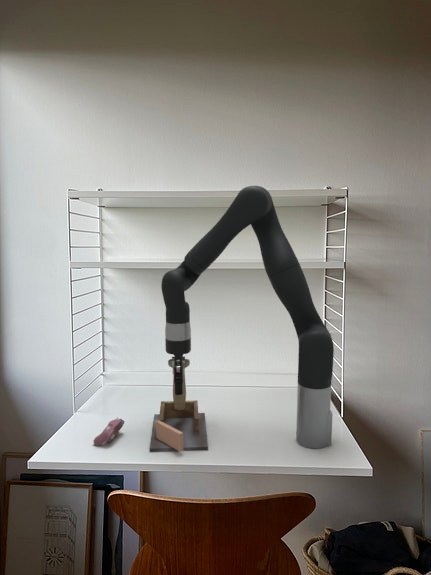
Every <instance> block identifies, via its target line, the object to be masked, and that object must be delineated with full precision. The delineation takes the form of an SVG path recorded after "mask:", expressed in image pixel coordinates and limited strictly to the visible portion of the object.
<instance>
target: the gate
mask: <svg viewBox="0 0 431 575" xmlns="http://www.w3.org/2000/svg"><path fill="white" fill-rule="evenodd" d="M153 421H154V438H157V439H159V440H160V441H162V442H164V443H166V444H167V445H169V446H171V447H173V448H174V449H176V450H178V451H177V452H183V451H182V450H183V432H181V431H179V430H177V429H175V428H173V427H171V426H169V425H167V424H165V423H163V422H161V421H160V420H159V419H155V420H154V419H153Z"/></svg>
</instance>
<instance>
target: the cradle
mask: <svg viewBox="0 0 431 575" xmlns="http://www.w3.org/2000/svg"><path fill="white" fill-rule="evenodd" d="M198 404H199V403H198V400H186V401H185V408H184V409H183V410H177V409H175V408H174V405H175V404H174V401H173V400H170V401H169V400H167V401H165V400H163V401H160V409H159V413H158V414H157V413H156V414H154V416H153V420H152V421H153V422H152V427H151V435H150V436H151V437H150V443H149V453H159V452H161V453H163V452H165V453H166V452H179V451H178V450H176V449H174V448H173V447H171V446H169V445H167V444H166V443H164V442H162V441H160V440H159V439H157V438H154V420H155V419H159V420H160V421H161V422H163V423H165V424H167V425H169V426H171V427H173V428H175V429H177V430H179V431H181V432H183V450H182V451H181V452H186V451H188V452H191V451H193V452H194V451H209V444H208V443H209V442H208V441H209V440H208V431H207V424H206V422H207V421H206V413H205V412H199V405H198Z"/></svg>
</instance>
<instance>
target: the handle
mask: <svg viewBox="0 0 431 575" xmlns="http://www.w3.org/2000/svg"><path fill="white" fill-rule="evenodd" d="M190 364H191V362H190V359H188V358H185V363H182V367H184V375H183V383H182V388H183V394H182V395H176V394H175V383H174V375H173V374H172V375H173V377H172V379H173V380H172V401H174V404H175V405H174V408H175V409H177V410H183V409H184V408H185V401H187V386H186V375H185V374H186V372H185V370H186V368H188V367H190ZM167 365H168V367H170V368H172V369H173V365H172V358H170V359H168V360H167ZM174 366H175V363H174ZM176 379H181V377H176Z"/></svg>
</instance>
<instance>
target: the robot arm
mask: <svg viewBox="0 0 431 575" xmlns="http://www.w3.org/2000/svg"><path fill="white" fill-rule="evenodd" d="M248 226H251V228H252V230H253V232H254V234H255V236H256V239H257V241H258V245H259V248H260V254H261V258H262V263H263V266H264V271H265V273H266V275H267V277H268V280H269V281H270V284H271V286H272V288H273V290H274V293H275V294H276V295H277V297H278V300H279V301H280V302H281V304H282V305H283V306H284V308H285V309H286V311H287V313H288V314H289V316H290V318H291V321H292V324H293V326H294V329H295V332H296V337H297V339H298V340H297V341H298V355H297V356H298V358H297V359H298V362H297V364H298V367H297V392H296V394H297V395H296V396H297V398H296V400H297V401H296V402H297V403H296V432H295V434H296V436H295V439H296V440H295V441H296V442H297V444H298V445H301V447H302V446H303V447H305V448H309V449H322V448H326V447H328V446H331V445H332V439H333V438H332V436H333V411H332V410H331V402H332V401H331V400H332V379H333V371H334V370H333V368H334V356H335V355H334V351H335V350H334V349H335V346H334V342H333V338H332V336H331V333H330V331H329V330H328V328H327V327H326V325H325V323H324V321H323V319H322V318H321V317H320V314H319V312H318V311H317V309H316V307H315V304H314V301H313V298H312V294H311V290H310V288H309V284H308V281H307V279H306V276H305V273H304V271H303V269H302V266H301V263H300V262H299V260H298V257H297V255H296V253H295V252H294V250H293V247H292V245H291V244H290V241H289V239H288V238H287V236H286V235H285V233H284V231H283V230H284V229H283V228H282V226H281V224H280V221H279V217H278V214H277V211H276V209H275V205H274V202H273V198H272V195H271V193H270V192H269V191H268V190H267V189H266V188H264V187H262V186H260V185H248V186H246V187H243V188H242V189H241V190H239V191H238V193H237V195H236V196H235V198H234V199H233V201H232V203H231V204H230V205H229V207H228V208H227V210H226V211H225V212H224V214H223V215H222V217H221V218H219V220H218V221H217V223H215V225H214V226H212V228H211V229H209V231H207V233H205V235H204V236H202V237H201V238H200V239H199V240H198V242H197V243H196V244H195V245H193V247H192V248H191V249H190V250H189V251H188V252H187V253H186V254H185V256H184V259H183V261H182V262H181V263H180V264H179V266H177V267H175V268H174V269H171V270H169V271H167V272H166V273H164V275H163V276H162V279H161V293H162V298H163V303H164V305H165V329H164V334H165V338H164V339H165V341H164V342H165V352H166V354H168V355H173V356H171V359H172V365H173V368H172V375H174V383H175V394H176V395H182V394H183V388H182V383H183V375H184V367H182V363H185V359H186V356H184V355H187V354H189V353H190V352H191V351H192V337H191V336H192V328H191V322H190V321H191V320H190V319H191V318H190V316H191V315H190V314H191V313H190V312H191V311H190V310H191V309H190V304H189V302H187V301H186V298H185V297H186V296H185V292H186V291H187V290H189V289H191V287H192V286H193V285H194V284H195V283H196V282H197V280H198V279H199V278H200V277H201V275H202V273H204V272H205V271H206V270H207V269H208V268H209V267H210V266H211V265H212V264H213V263H214V262H215V261H216V260H217V259H218V258H219V257H220V256H221V255H222V254H223V252H224V251H225V249H226V248H227V247H228V246H229V244H230V243H231V242H232V241H233V240H234V239H235V238H236V237H237V236H238V235H239V234H240V233H241V232H242V231H243V230H245V229H246V228H247V227H248ZM174 363H175V366H174ZM176 377H181V379H176Z"/></svg>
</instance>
